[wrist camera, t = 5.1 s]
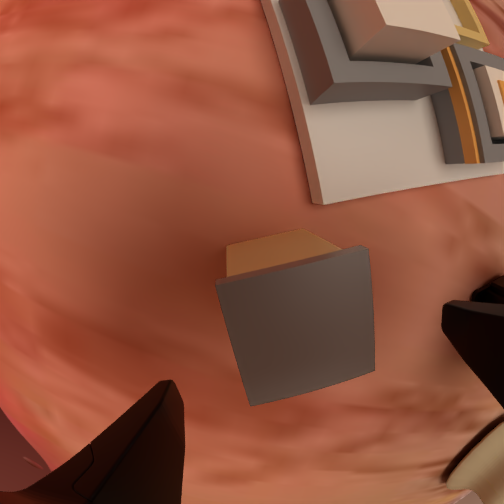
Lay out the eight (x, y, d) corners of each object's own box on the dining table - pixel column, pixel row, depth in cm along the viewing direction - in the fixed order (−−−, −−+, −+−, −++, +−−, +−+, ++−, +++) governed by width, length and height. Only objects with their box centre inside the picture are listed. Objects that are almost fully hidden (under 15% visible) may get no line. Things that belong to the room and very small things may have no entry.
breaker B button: (412, 65, 11) (460, 40, 7) (345, 62, 11) (386, 24, 7) (387, 4, 10) (424, -30, 6) (320, -2, 10) (348, -49, 6)
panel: (496, 171, 17) (545, 174, 12) (312, 202, 16) (352, 210, 11) (429, -23, 13) (461, -48, 7) (243, -47, 12) (249, -96, 7)
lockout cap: (320, 302, 18) (374, 370, 10) (239, 322, 17) (250, 406, 10) (306, 221, 16) (368, 248, 9) (219, 241, 16) (215, 285, 9)
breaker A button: (491, 140, 14) (535, 137, 10) (458, 140, 14) (506, 135, 10) (478, 86, 13) (519, 75, 9) (443, 80, 13) (487, 64, 9)
